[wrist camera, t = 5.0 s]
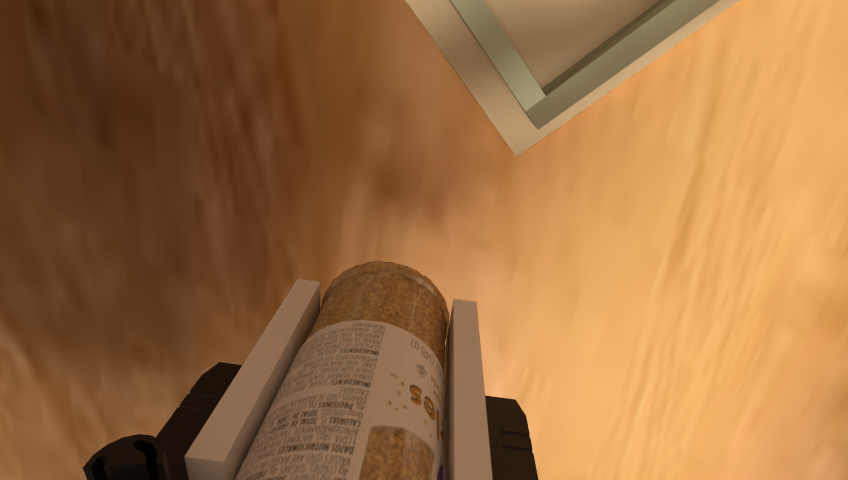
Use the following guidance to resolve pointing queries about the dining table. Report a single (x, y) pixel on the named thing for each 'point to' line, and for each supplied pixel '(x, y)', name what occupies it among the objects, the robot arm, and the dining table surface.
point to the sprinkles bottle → (362, 386)
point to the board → (553, 52)
